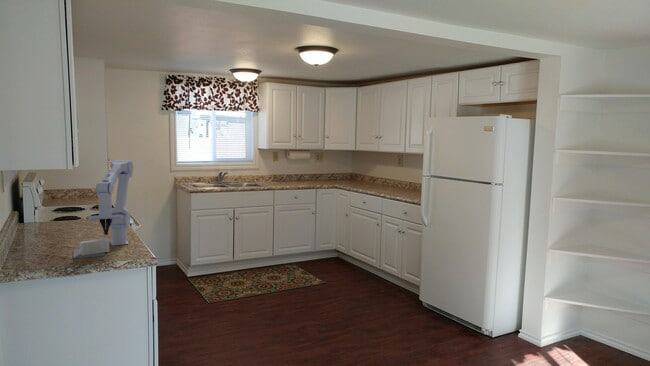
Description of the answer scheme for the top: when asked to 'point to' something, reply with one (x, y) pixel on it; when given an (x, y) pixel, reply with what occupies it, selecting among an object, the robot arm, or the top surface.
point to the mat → (77, 255)
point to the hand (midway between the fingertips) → (106, 234)
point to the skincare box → (94, 247)
